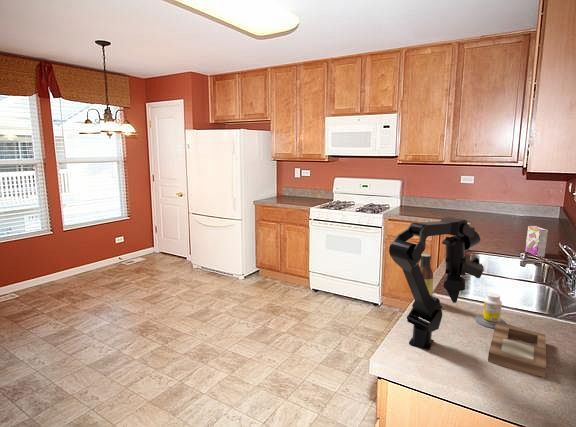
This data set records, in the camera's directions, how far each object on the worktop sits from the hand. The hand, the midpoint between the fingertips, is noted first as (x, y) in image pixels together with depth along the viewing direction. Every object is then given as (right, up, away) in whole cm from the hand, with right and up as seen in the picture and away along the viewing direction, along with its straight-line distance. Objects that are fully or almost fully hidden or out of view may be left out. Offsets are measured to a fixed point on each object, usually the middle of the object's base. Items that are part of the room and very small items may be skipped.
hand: (454, 295), depth 124 cm
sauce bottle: (-1, -8, +25) cm, 26 cm away
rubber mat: (+16, -11, +7) cm, 21 cm away
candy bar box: (+88, +4, +89) cm, 125 cm away
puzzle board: (+14, -15, -12) cm, 24 cm away
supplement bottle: (+16, -11, +7) cm, 21 cm away
